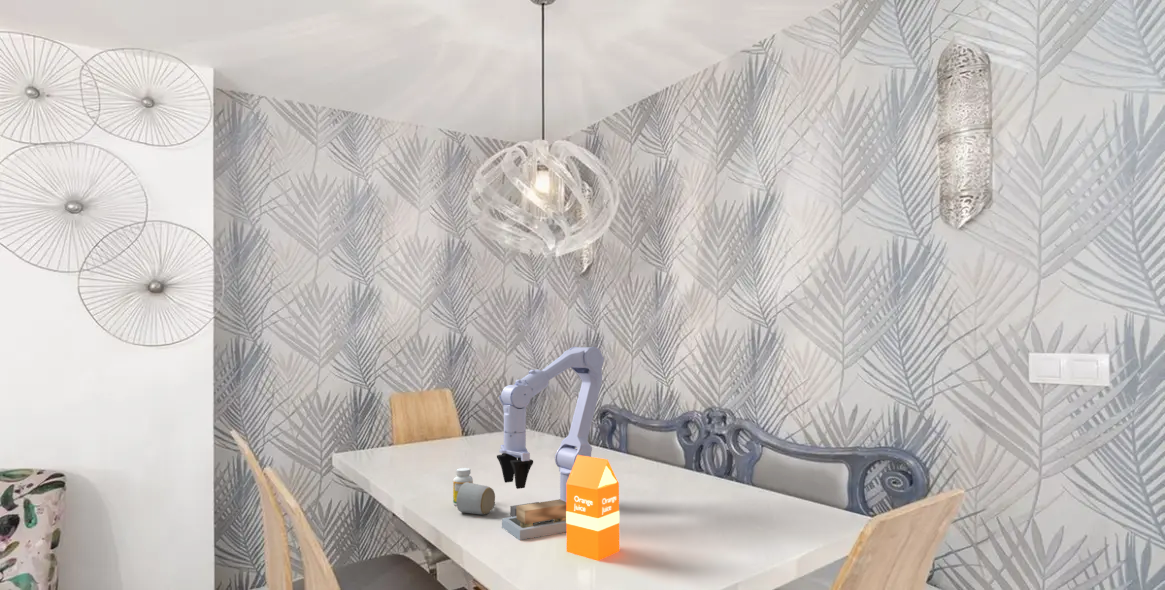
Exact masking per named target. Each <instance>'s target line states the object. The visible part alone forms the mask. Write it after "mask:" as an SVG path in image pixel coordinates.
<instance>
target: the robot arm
mask: <svg viewBox="0 0 1165 590" xmlns="http://www.w3.org/2000/svg"><path fill="white" fill-rule="evenodd" d="M604 362H605V357H604V356H603V354H602V351H601V350H600V349H599V347H596V346H590V347H589V346H588V347H587V346H583V347H582V346H581V347H580V346H571V347H570V348H569V349H567V350H565V351H563V353H562V354H561V355H560V356H559V357H557V358H556V359H555V360H553V361H552V362H550V363H549V364H548V365H547V366H545V367H544V368H543V369H538V368H537V369H530V370H529V371H528V374H526V375H524V377H522V378H521V379H516V380H515V381H514V382H515V383H514V384H508V385H506V386H504V388H503V389H502V390H501V394H500V395H498V398H499V402H500V403H501V405H502V408H503V409H502V411H503V444H500V449H499V450H498V451H499V452H498V453H500V454H496V459H497V460H498V462H499V464H500V468H501V471H502V476H503V481H504V483H505V484H506V483H513V482H514V483H515V488H516V489H517V490H518V489H525V488H526V483H527V480H528V475H529V472H530V470H531V467H532V466H533V465H534V459H531V453H530V451H528V449H527V448H526V447H527V443H526V442H527V441H526V439H527V438H526V435H527V433H526V431H527V425H526V423H527V420H526V419H527V413H526V412H527V407H528V405H529V404H530V402H531V399H532V398H533V397H535V396H536V395H538V394H540V393H541V392H543V390H545V389H546V388H547V387H548V386H549V381H550V380H552V379H554V378H555V377H557V376H559V375H560V374H562V373H564V372H565V371H566V370H568V369H571V370H573V371H574V373H575V374H577V376H578V377H579V379H580V380H581V385H580V389H579V393H578V396H577V401H576V405H575V408H574V412H573V416H572V420H571V424H570V428H569V431H568V435H567V436H566V437H565V438H563V439H562V440H561V441H560V442H561V443H560V445H559V447H558V449H557V450H556V452H555V453H554V462H555V463H554V464H555V465H556V466H557V467H558V472H559V475H560V476H559V493H560V494H559V496H560V497H559V499H561V500H563V501H565V502H567V484H566V483H567V480H568V478H569V475H570V473H571V470H572V468H573V465H574V463H575V460H576V458H577V455H582V456H588V457H592V452H593V448H592V446H591V444H590V443H589V441H588V440H589V434H590V430H591V427H592V422H593V419H594V414H595V411H596V407H597V402H598V399H599V394H600V391H601V386H602V382H603V372H602V371H603V369H602V368H603V364H604Z"/></svg>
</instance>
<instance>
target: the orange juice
mask: <svg viewBox="0 0 1165 590" xmlns="http://www.w3.org/2000/svg"><path fill="white" fill-rule="evenodd" d="M566 484H567V511H566V523H567V532H566V553H570V554H572V555H573V554H574V555H576V556H579V557H584V558H586V559H590V560H593V561H597V562H599V561H601V560H604V559H605V558H608V557H609V556H613V555H614V554H616V553H618V552H620V482H619V481H618V479H617V477H616V475H615V472H614V471H613V468H612V466H611V463H610V462H609V459H606V458H601V457H595V456H591V457H588V456H582V455H577V458H576V460H575V463H574V465H573V468H572V470H571V473H570V475H569V478H568V480H567V483H566Z"/></svg>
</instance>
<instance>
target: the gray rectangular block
mask: <svg viewBox="0 0 1165 590" xmlns="http://www.w3.org/2000/svg"><path fill="white" fill-rule="evenodd" d="M533 503H539V501H535V502H529V503H523V504H516V505H510V511H509V512H510V513H509V514H510V515H511V516H512V517H514V516H516V506H519V505H526V504H533ZM511 516H510V517H511Z"/></svg>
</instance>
